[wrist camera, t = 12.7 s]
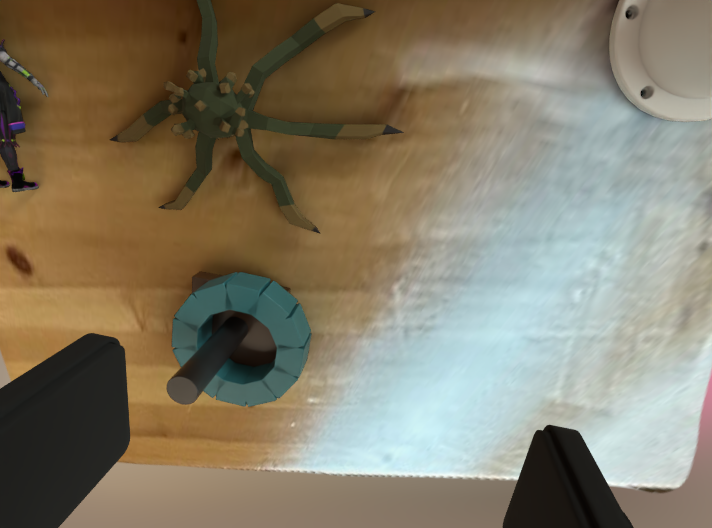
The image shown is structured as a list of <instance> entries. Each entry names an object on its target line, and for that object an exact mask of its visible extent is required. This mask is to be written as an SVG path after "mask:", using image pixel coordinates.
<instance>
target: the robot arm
mask: <svg viewBox="0 0 712 528" xmlns="http://www.w3.org/2000/svg"><path fill="white" fill-rule="evenodd" d="M625 12H627V13H628V14H629V17H628V19H627V18H626V16H625ZM609 57H610V62H611V66H612V71H613V74H614V77H615V79H616V81H617V83H618V86H619V88H620V89H621V90H622V92H623V93H624V94H625V96H626V97H627V98H628V100H629V101H631V102H632V103H633V104H634V105H635V106H636V107H638V108H639V109H640V110H642V111H644V112H646V113H648V114H650V115H652V116H654V117H657V118H661V119H664V120H668V121H681V122H692V121H705V120H709V119H712V0H619V3H618V5H617V8H616V11H615V14H614V17H613V20H612V25H611V31H610V37H609ZM641 90H643V96H642V97H641V95H640V94H641ZM129 441H130V426H129V410H128V394H127V377H126V361H125V350H124V348H123V346H121V345H120V343H119V341H118V339H116V338H114V337H109V336H104V335H99V334H94V333H89V334H87V335H84V336H83V337H81V338H80V339H78V340H76V341H75V342H73V343H72V344H70V345H69V346H67V347H65V348H64V349H62V350H61V351H59V352H57V353H56V354H54V355H53V356H51V357H50V358H48V359H46V360H45V361H43V362H42V363H40V364H39V365H37V366H35V367H34V368H32V369H31V370H29V371H27V372H26V373H24V374H23V375H21V376H20V377H18V378H16V379H15V380H13V381H12V382H10V383H8V384H7V385H5V386H4V387H2V388H1V389H0V528H58V527H59V526H60V525H61V524H62V523H63V522H64V521H65V519H66V518H67V517H68V516H69V515H70V514H71V513H72V512H73V511H74V509H75V508H76V507H77V506H78V505H79V504H80V503H81V501H82V500H83V499H84V498H85V497H86V496H87V495H88V494H89V493H90V491H91V490H92V489H93V488H94V487H95V486H96V485H97V483H98V482H99V481H100V480H101V479H102V478H103V477H104V476H105V474H106V473H107V472H108V471H109V470H110V469H111V468H112V466H113V465H114V464H115V463H116V462H117V461H118V460H119V459H120V458H121V456H122V455H123V454H124V453H125V451H126V449H127V447H128V445H129ZM503 528H633V526H632V524H631V522H630V520H629V519H628V518H627V516H626V515H625V513H624V512H623V511H622V510H621V508H620V506H619V504H618V503H617V501H616V499H615V497H614V495H613V493H612V491H611V489H610V488H609V486H608V484H607V482H606V480H605V478H604V477H603V475H602V473H601V471H600V469H599V467H598V465H597V464H596V462H595V460H594V458H593V456H592V454H591V453H590V451H589V449H588V447H587V445H586V443H585V442H584V440H583V438H582V436H581V434H580V433H579V432H578V431H576V430H573V429H568V428H563V427H558V426H553V425H547V426H546V427H545V428H544V430H543V431H542V430H537V431H536V432H535V434H534V436H533V439H532V442H531V445H530V448H529V451H528V453H527V456H526V459H525V462H524V465H523V467H522V470H521V473H520V476H519V479H518V482H517V484H516V487H515V490H514V493H513V496H512V498H511V501H510V504H509V507H508V510H507V512H506V515H505V518H504V522H503Z"/></svg>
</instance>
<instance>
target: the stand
mask: <svg viewBox="0 0 712 528" xmlns="http://www.w3.org/2000/svg"><path fill="white" fill-rule="evenodd" d="M219 277H222V275H216V274H211V273H206V272H198V273H197V274H195V275H194V276H193V277H192V293H193V292H195V291H196V290H197V289H199V288H200V287H201V286H203V285H204V284H205V283H207V282H208V281H209V280H212V279H216V278H219ZM282 288H284V289H285V290H286V291H287V292H288V293H290V288H287V287H282ZM276 351H277V347H276V344H275V342H274V340H273V337H272V335H271V333H270V330H269V329H268V328H267V327H266V326H265V325H264V324H262V323H261V322H260V321H259V320H257V319H256V318H255V317H254V316H252V315H251V314H247V313H243V312H238V311H234V310H226V311H223V312H220V313H216V314H214V315H213V321H212V336H211V337H210V338H209V339H208V340H207V341H206V342H205V343H204V344H203V345H202V346H201V347H200V348H199V349H198V351H197V352H196V353H195V354H194V355H193V356H192V357H191V358H190V359H189V360H188V361H187V362H186V363H185V364H184V365H183V366H182V367H181V368H180V369H179V370H178V372H177V373H176V374H175V375H174V376H173V377H172V378H171V379H170V380H169V381H168V383H167V392H168V394H169V396H170V397H171V398H172V399H173V400H174V401H175V402H177V403H180V404H185V405H186V404H191V403H193V402H195V401H196V399H197V398H198V397H199V396H200V394H201V393H202V392H203V390H204V389H205V388H206V387H207V385H208V384H209V383H210V382H211V380H212V379H213V378H214V376H215V375H216V374H217V373H218V371H219V370H220V369H221V367H222V366H223V365H224V364H225V362H226V361H227V360H228V358H230V359H231V360H233V361H234V362H235V363H239V364H243V365H248V366H252V367H256V366H260V365H264V364H268V363H272V362H273V361H274V360H275V358H276Z"/></svg>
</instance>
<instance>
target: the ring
mask: <svg viewBox="0 0 712 528" xmlns="http://www.w3.org/2000/svg"><path fill="white" fill-rule="evenodd" d="M270 280H271V279H270V278H265V277H261V276H256V275H252V274H247V273H243V272H240V273H238V274H237V272H235V273H232V274H228V275H225V276H222V277H219V278H216V279H212V280H209V281H208V282H207V283H205V284H204V285H203V286H201V287H200V288H199V289H197V290H196V291H195V292H193V293H192V294H191V295H190V296H189V297H188V299H187V300H186V301H185V302H184V304H183V305H182V306H181V308H180V309H179V310H178V311H177V313H176V314H175V315H174V316H175V318H174V319H173V330H172V347H175V348H174V349H173V352H174V354H175V356H176V358H177V360H178V362H179V364H180V366H181V367H182V366H183V365H184V364H185V363H186V362H187V361H188V360H189V359H190V358H191V357H192V356H193V355H194V354H195V353H196V352H197V351H198V349H199V348H200V347H201V346H202V345H203V344H204V343H205V342H206V341H207V340H208V339H209V338H210V337H211V336H212V321H213V315H214V314H216V313H220V312H223V311H226V310H234V311H238V312H243V313H247V314H251V315H252V316H254V317H255V318H256V319H257V320H259V321H260V322H261V323H262V324H264V325H265V326H266V327H267V328H268V329H269V330H270V333H271V335H272V337H273V340H274V342H275V344H276V347H277V351H276V358H275V360H274V361H273V362H272V363H268V364H264V365H260V366H256V367H252V366H248V365H243V364H239V363H235V362H234V361H233V360H231V359H230V358H228V360H227V361H226V362H225V364H224V365H223V366H222V367H221V369H220V370H219V371H218V373H217V374H216V375H215V376H214V378H213V379H212V380H211V382H210V383H209V384H208V385H207V387H206V388H205V389H204V390H203V391H204V392H205V393H207V394H208V395H209V396H211V397H212V398H213V397H214V396H215V395H216V400H220V401H224V402H228V403H232V404H236V405H240V406H246V404H247V405H248V407H250V406H254V405H258V404H263V403H267V402H271V401H276V400H277V398H280V397H281V396H282V395H283V394H284V393H285V392H286V391H287V390H288V389H289V388H290V387H291V386H292V385H293V384H294V383H295V382H296V381H297V380H298V378H299V377H300V375H301V372H302V370H303V368H304V365H305V363H306V361H307V357H308V351H309V345H310V340H311V333H310V332H311V329H310V327H309V324H308V322H307V319H306V317H305V314H304V312H303V309H302V307H301V304H296V303H297V302H298V300H297V299H296V298H294V297H293V296H292V295H291V294H290V293H288V292H287V291H286V290H285V289H284V288H282V287H281V286H280V285H279V284H278V283H276V282H275V281H273V282H272V283H271V284H270Z"/></svg>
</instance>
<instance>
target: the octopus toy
mask: <svg viewBox="0 0 712 528" xmlns="http://www.w3.org/2000/svg"><path fill="white" fill-rule="evenodd" d="M197 3H198V6H199V9H200V12H201V16H202V36H201V42H200V47H199V52H198V57H197V62H198V69H199V71H193V70H190V69H189V71H188V73H187V75H186V77H188V78H189V79H190V80H191V81H193V83H194V84H192V86H191V87H190V88H189V89H188V91H187V90H184V89H183V88H180V87H178V86H176V85H175V84H174V83H172V82H168V81H167V82H164V88H165V89H166V90H169V91H172V92H175V94H171V95H170V96H169V99H170V100H166V101H160V102H159V103H158V104H156V105H155V106H154V107H152V108H151V109H150V110H148V111H147V112H146V113H144V114H143V115H142V116H141V117H140V118H139V119H138V120H137V121H135V122H134V123H133V124H132V125H131V126H130V127H129V128H128V129H126V130H125V131H123V132H121V133H120V134H118V135H116V136H115V137H113V138H112V139H110V140H111V141H117V142H133V141H138V140H139V139H140V138H141V137H142V136H144V135H145V134H146V133H147V132H148V131H149V130H150V129H152V128H153V127H154V126H155V125H157V124H158V123H160V122H161V121H163V120H164V119H166V118H167V117H168V116H170V115H171V114H172V115H175V114H181V113H183V115H184V117H185V118H186V120H187V122H184V123H181V124H174V126H173V127H172V128H171V131H172V132H173V134H174V135H175V136H177V135H180V134H182V135H183V136H184V138H188V139H190V138H192V137H193V136H194V135H195V134H194V133H193V131H192V130H194V129H195V130H197V131H199V133H198V137H197V142H196V146H195V147H196V164H197V168H196V170H195V171H194V173H193V174H192V176H191V177H190V178H189V180H188V181H187V183H186V185H185V187H184V188H183V190H182V191H181V193H180V195H179V196H178V198H177V199H176V200H174V201H171V202H168V203H166V204H164V205H162V206H160V207H159V208H162V209H174V210H182V209H183V208H184V207H185V206H186V205H187V203H188V202H189V200H190V199H191V197H192V196H193V195H194V193H195V192H196V190H197V189H198V188H199V186H200V185H201V183H202V182H203V180H204V179H205V178H206V176H207V175H208V174H209V172H210V171H211V170H212V150H213V146H214V143H215V140H216V138H217V139H218V138H223V137H227V138H228V137H230V136H231V137H232V136H234V135H235V136H236V140H237V143H238V146H239V150H240V153H241V156H242V159H243V160H244V161H245V162H246V163H247V164H248V165H249V166H250V167H251V169H252V170H253V171H254V172H255V173H256V174H257V175H258V176H259V177H261V178H262V179H263V180H265V181H266V182H268V183H270V184H272V187H273V190H274V192H275V195H276V198H277V201H278V204H279V207H280V208H281V210H282V212H283V213H284V215H285V217H286V218H287V220H288V222H289V223H290V224H292V225H295V226H298V227H301V228H304V229H307V230H311V231H314V232H317V233H320V232H319V230H318V229H317V227H316V226H314V225H313V224H312V223H311V222H309V221H308V220H307V219H305V218H304V217H303V215H302V214H301V212H300V211H299V210H298V208H297V207H296V205H295V204H294V201H293V199H292V196H291V194H290V191H289V189H288V187H287V184H286V182H285V179H284V177H283V176H282V175H281V174H280V173H279V172H277V171H276V170H275V169H274V168H272V167H271V166H270V165H268V164H267V163H266V162H265V161H264V160H263V159H262V158H261V157H260V156H259V154H258V153H257V152H256V151H255V150H254V147H253V141H252V134H251V129H261V130H269V131H273V132H278V133H283V134H288V135H299V136H310V137H319V138H328V139H369V138H373V137H376V136H380V135H385V134H395V133H404V132H402V131H400V130H397V129H395V128H393V127H391V126H389V125H376V124H317V123H299V122H286V121H282V120H278V119H274V118H270V117H267V116H264V115H261V114H259V113H256V112H254V111H253V109H254V106H255V103H256V101H257V98H258V95H259V93H260V90H261V88H262V85H263V82H264V80H265V79H266V78H267V77H268V76H269V75H271V74H272V73H273V72H274V71H276V70H277V69H278V68H279V67H281V66H282V65H283V64H284V63H286V62H287V61H289V60H290V59H291V58H293V57H294V56H295V55H297V54H298V53H300V52H301V51H302V50H304V49H305V48H306V47H308V46H309V45H310V44H312V43H313V42H314V41H316V40H317V39H318V38H319V37H321V36H322V35H323V34H325V33H326V32H328V31H330V30H331V29H333V28H335V27H337V26H338V25H340V24H342V23H343V22H345V21H347V20H354V19H361V18H366V17H367V16H369V15H371V14H372V13H374V12H375V11H372V10H368V9H364V8H359V7H354V6H349V5H343V4H338V3H336V4H335V5H333V6H331V7H330V8H328V9H327V10H325V11H324V12H322V13H321V14H319V15H318V16H316V17H315V18H313V19H312V20H311V21H310V22H308V23H307V24H306V25H305V26H304V27H302V28H301V29H300V30H299V31H297V32H296V33H295V34H294V35H292V36H291V37H290V38H288V39H287V40H285V41H284V42H282V43H281V44H280V45H278V46H277V47H275V48H274V49H273V50H271V51H270V52H269V53H268V54H266V55H265V56H264V57H263V58H262V59H260V60H259V61H258V62H257V63H255V64H254V65H253V66H252V68H251V70H250V72H249V74H248V76H247V78H246V80H245V82H244V84H243V87H242V89H241V90H240V92H239V93H238V94H237V95H236V94H235V93H234V91H233V90H232V87H233V86H234V84H235V82H236V81H237V79H236V74H234V73H233V72H228V74H227V76H226V77H225V78H224V79H223V80H221V81H220V82H219V80H218V76H217V71H216V66H215V60H216V53H217V46H218V40H217V21H216V18H215V14H214V11H213V7H212V4H211V0H197ZM219 83H220V84H219ZM181 97H182V99H181ZM218 140H219V139H218ZM320 234H321V233H320Z"/></svg>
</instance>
